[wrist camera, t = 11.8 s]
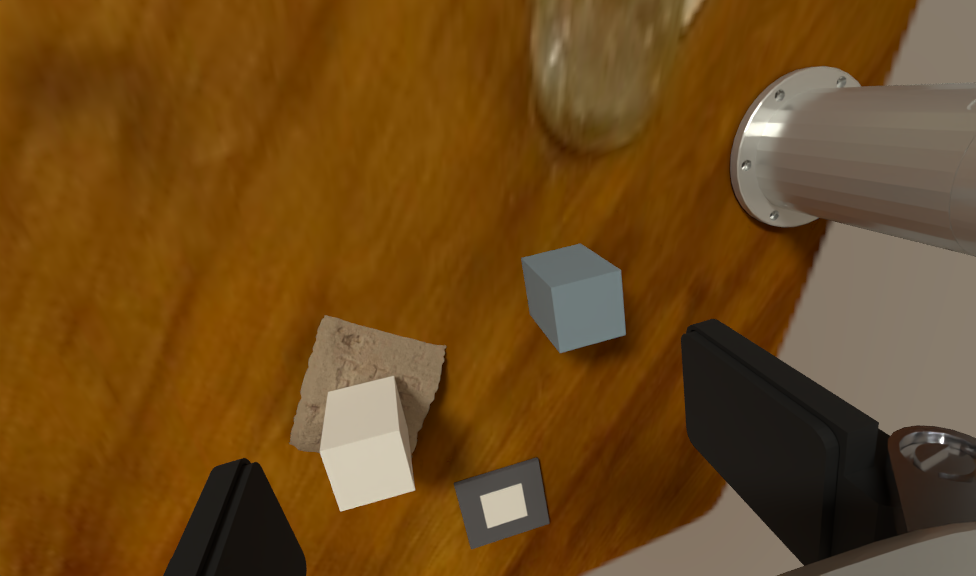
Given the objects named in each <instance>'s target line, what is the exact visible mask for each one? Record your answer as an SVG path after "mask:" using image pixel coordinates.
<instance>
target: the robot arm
mask: <svg viewBox="0 0 976 576" xmlns="http://www.w3.org/2000/svg"><path fill="white" fill-rule="evenodd" d="M730 173H731V181H732V186H733V189H734V192H735V195H736V197H737V199H738V201H739V203H740V204H741V206H742V207H743V209H744V210H745V211H746V212H747V213H748V214H749V215H750V216H752V217H754V218H755V219H757V220H758V221H760V222H763V223H766V224H769V225H773V226H778V227H796V226H800V225H804V224H807V223H810V222H812V221H814V220H816V219H818V218H823V219H827V220H831V221H835V222H839V223H843V224H847V225H852V226H855V227H859V228H863V229H867V230H871V231H876V232H879V233H883V234H887V235H891V236H895V237H900V238H903V239H907V240H911V241H915V242H919V243H923V244H927V245H931V246H935V247H939V248H943V249H948V250H951V251H955V252H960V253H964V254H968V255H971V256H975V257H976V82H974V83H947V84H921V85H893V86H866V87H861V86H860V84H859V83H858V81H857V80H855V79H854V78H853V77H852V76H851V75H850V74H848V73H846V72H844V71H842V70H840V69H838V68H832V67H826V66H822V67H808V68H804V69H799V70H795V71H793V72H791V73H788V74H786V75H784V76H782V77H780V78H779V79H778V80H776V81H775V82H773V83H772V84H770V85H769V86H768V87H767V88H766V89H765V90H764V91H763V92H762V93H761V94H760V95H759V96H758V97H757V98H756V100H755V101H754V102H753V103H752V105H751V106H750V107H749V109H748V110H747V112H746V114H745V116H744V118H743V119H742V121H741V123H740V125H739V128H738V131H737V133H736V136H735V139H734V143H733V147H732V152H731V163H730ZM681 348H682V364H683V380H684V396H685V412H686V428H687V434H688V437H689V439H690V441H691V443H692V444H693V446H694V447H695V448H696V449H697V450H698V451H699V452H700V453H701V454H702V456H703V457H704V458H705V459H706V460H707V461H708V462H709V463H710V464H711V465H712V466H713V467H714V469H715V470H716V471H717V472H718V473H719V474H720V475H721V476H722V477H723V478H724V479H725V480H726V482H727V483H728V484H729V485H730V486H731V487H732V488H733V489H734V490H735V491H736V492H737V493H738V495H739V496H740V497H741V498H742V499H743V500H744V501H745V502H746V503H747V504H748V505H749V506H750V508H752V510H753V511H754V512H755V513H756V514H757V515H758V516H759V517H760V518H761V519H762V521H763V522H764V523H765V524H766V525H767V526H768V527H769V528H770V529H771V530H772V531H773V532H774V533H775V535H776V536H777V537H778V538H779V539H780V540H781V541H782V542H783V543H784V544H785V545H786V546H787V548H788V549H789V550H790V551H791V552H792V553H793V554H794V555H795V556H796V557H797V558H798V559H799V561H800V562H801V563H802V564H803V565H804V566H803V567H800V568H797V569H794V570H791V571H788V572H786V573H783V574H780V575H777V576H976V438H974V437H971V436H969V435H966V434H964V433H960V432H957V431H955V430H951V429H946V428H941V427H935V426H911V427H904V428H902V429H900V430H897V431H895V432H893V434H892V435H891V436H889V435H888V434H886V433H885V432H883V431H882V430H880V429H878V425H879V422H877V421H876V420H874V419H872V418H871V417H869V416H868V415H866V414H864V413H863V412H861V411H860V410H858V409H857V408H855V407H854V406H852V405H850V404H849V403H847V402H845V401H844V400H842V399H841V398H839V397H838V396H836V395H835V394H833V393H832V392H830V391H828V390H827V389H825V388H824V387H822V386H821V385H819V384H817V383H816V382H814V381H813V380H811V379H810V378H808V377H806V376H805V375H803V374H802V373H800V372H799V371H797V370H795V369H794V368H792V367H791V366H789V365H787V364H786V363H784V362H783V361H781V360H780V359H778V358H777V357H775V356H773V355H772V354H770V353H769V352H767V351H766V350H764V349H762V348H761V347H759V346H758V345H756V344H755V343H753V342H751V341H750V340H748V339H747V338H745V337H743V336H742V335H740V334H739V333H737V332H736V331H734V330H732V329H731V328H729V327H728V326H726V325H725V324H723V323H721V322H720V321H718V320H716V319H710V320H707V321H704V322H700V323H697V324H693V325H690V326H689V327H688V328H687V331H686V334H683V335H682V337H681ZM163 576H306V560H305V556H304V554H303V551H302V549H301V547H300V545H299V543H298V541H297V539H296V537H295V535H294V533H293V531H292V529H291V527H290V525H289V523H288V521H287V519H286V516H285V514H284V512H283V510H282V508H281V506H280V504H279V502H278V500H277V498H276V496H275V494H274V492H273V490H272V488H271V486H270V484H269V482H268V480H267V478H266V475H265V473H264V471H263V469H262V467H261V466H260V464H259V463H257V462H254V463H250V461H249V460H248V459H246V458H242V459H239V460H236V461H232V462H229V463H225V464H222V465H219V466H216V467H214V468H213V470H212V471H211V473H210V475H209V477H208V480H207V482H206V484H205V486H204V489H203V491H202V493H201V495H200V497H199V500H198V502H197V504H196V506H195V508H194V511H193V513H192V515H191V517H190V519H189V522H188V524H187V526H186V528H185V530H184V533H183V535H182V537H181V539H180V542H179V544H178V546H177V548H176V550H175V553H174V555H173V557H172V558H171V560H170V562H169V564H168V566H167V569H166V571H165V573H164V575H163Z"/></svg>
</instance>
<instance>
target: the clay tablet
mask: <svg viewBox="0 0 976 576" xmlns="http://www.w3.org/2000/svg"><path fill="white" fill-rule="evenodd" d="M445 348H446V346H443V345H433V344H429V343H425V342H421V341H418V340H414V339H411V338H406V337H401V336H397V335H394V334H390V333H386V332H383V331H380V330H376V329H372V328H368V327H364V326H360V325H357V324H352V323H350V322H347V321H344V320H341V319H338V318H334V317H330V316H326V315H325V317H324V319H322V321H321V324H320V326H319V328H318V334H317V336H316V342H315V344H314V347H313V353H312V354H311V356H310V359H309V363H308V365H309V368H308V369H307V372H306V374H305V376H304V380H303V384H302V387H301V396H302V399H301V401H300V402H299V403H298V409H297V411H296V412H297V414H296V415H295V417H294V426H293V427H292V432H291V437H290V438H291V439H290V441H291V442H290V443H289V444H291V445H294V446H295V447H296V448H297V449H298V450H302V451H308V452H318V453H320V445H321V438H322V431H323V424H324V417H325V409H326V402H327V395H328V392H330V391H334V390H338V389H342V388H346V387H350V386H354V385H358V384H362V383H366V382H370V381H375V380H379V379H383V378H387V377H391V376H394V377H395V381H396V385H397V389H398V393H399V397H400V401H401V405H402V409H403V412H404V416H405V420H406V424H407V428H408V435H409V444H410V452H411V453H413V451H414V450H415V447H416V443H417V432H418V431H419V430H420V429H421V428H422V423H423V420H424V418H425V417H426V415H427V413H428V411H429V405H430V403H431V402H432V401H433V400H434V393H435V392H436V391H437V389H438V383H439V381H440V375H441V371H442V369H441V368H442V364H443V362H444V358H443V356H444V355H445V351H444V349H445ZM411 458H412V455H411Z"/></svg>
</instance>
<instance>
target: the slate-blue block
mask: <svg viewBox="0 0 976 576" xmlns="http://www.w3.org/2000/svg"><path fill="white" fill-rule="evenodd" d="M521 260H522V267H523V273H524V279H525V285H526V292H527V298H528V304H529V311H530V315H531V316H532V318H533V319H534V320H535V322H536V323H537V324H538V325H539V327H540V328H541V329H542V331H543V332H544V333H545V334H546V336H547V337H548V338H549V340H550V341H551V342H552V344H553V345H554V346H555V347H556V349H557V350H558V351H559V353H562V352H566V351H570V350H573V349H577V348H580V347H584V346H588V345H591V344H595V343H598V342H602V341H606V340H609V339H613V338H616V337H620V336H624V335H626V330H625V317H624V304H623V292H622V279H621V270H620V269H618V268H617V267H615V266H614V265H612V264H611V263H609V262H608V261H606V260H605V259H603V258H602V257H600V256H599V255H597V254H596V253H594V252H592V251H591V250H589V249H588V248H586V247H585V246H583V245H582V244H577V245H573V246H569V247H565V248H560V249H556V250H552V251H548V252H544V253H540V254H536V255H532V256H528V257H524V258H521Z"/></svg>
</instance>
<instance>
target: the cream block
mask: <svg viewBox="0 0 976 576" xmlns="http://www.w3.org/2000/svg"><path fill="white" fill-rule="evenodd" d="M320 454H321V457H322V460H323V463H324V466H325V468H326V471H327V474H328V477H329V480H330V483H331V486H332V489H333V492H334V494H335V497H336V500H337V503H338V506H339V509H340V511H344V510H347V509H351V508H355V507H358V506H362V505H365V504H369V503H372V502H376V501H379V500H383V499H386V498H390V497H393V496H397V495H400V494H404V493H407V492H411V491H414V490H415V485H414V477H413V469H412V460H411V452H410V444H409V435H408V428H407V424H406V420H405V416H404V412H403V409H402V405H401V401H400V397H399V393H398V389H397V385H396V381H395V377H394V376H391V377H387V378H383V379H379V380H375V381H370V382H366V383H362V384H358V385H354V386H350V387H346V388H342V389H338V390H334V391H330V392H328V395H327V402H326V409H325V417H324V424H323V431H322V438H321V445H320Z"/></svg>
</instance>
